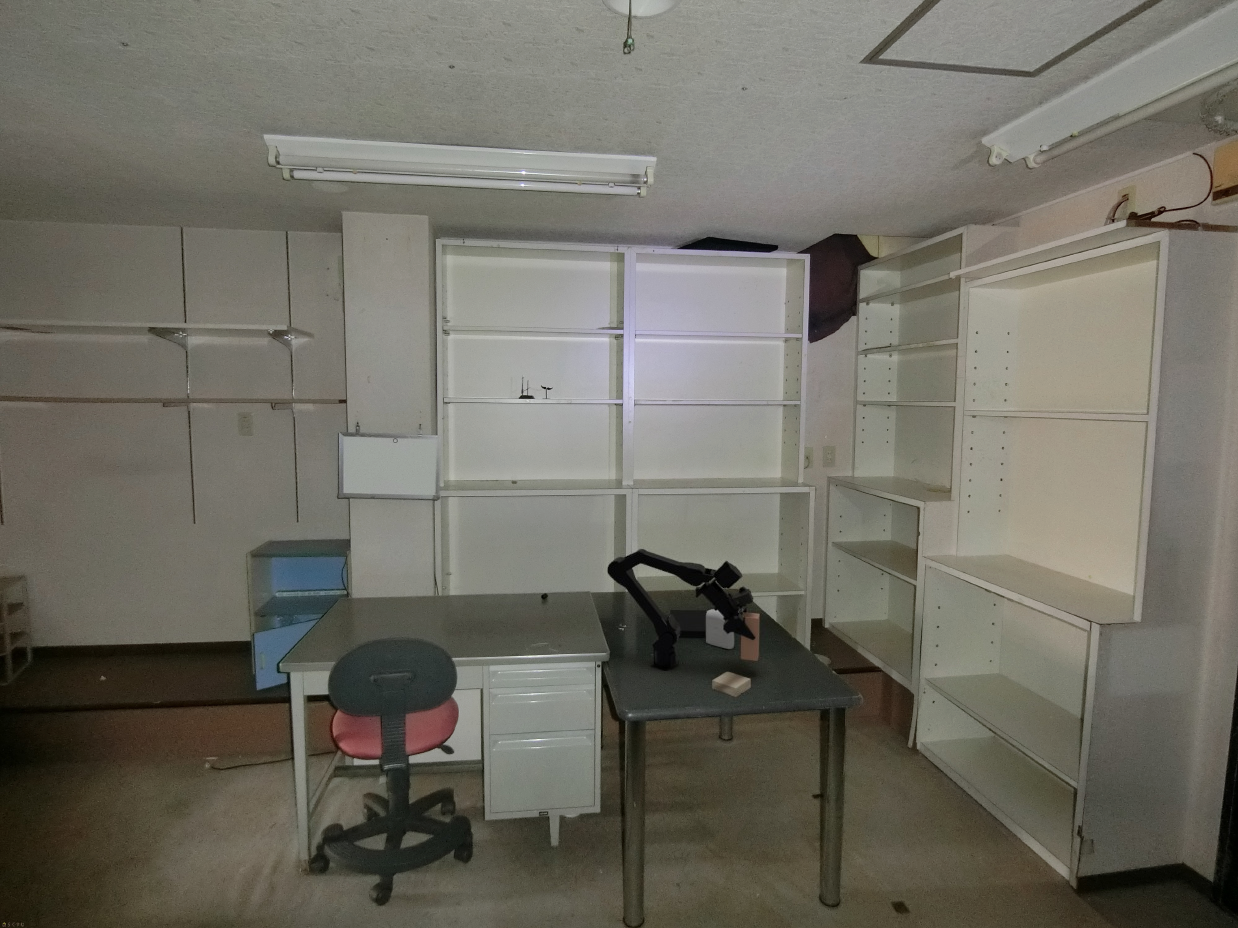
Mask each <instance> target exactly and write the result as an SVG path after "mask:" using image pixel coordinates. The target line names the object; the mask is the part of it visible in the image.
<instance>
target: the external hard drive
mask: <svg viewBox="0 0 1238 928" xmlns="http://www.w3.org/2000/svg"><path fill="white" fill-rule="evenodd" d="M707 611H708V610H701V609H700V610H696V609H695V610H693V609H688V610H687V609H670V611H669V616H670V615H671V614H672V615H673V616H674V618H675V620H676V621H677V622H679V623H680V624H679V626H680V629H681V633H680V636H679V638H678V639H703V638H706V613H707Z"/></svg>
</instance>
